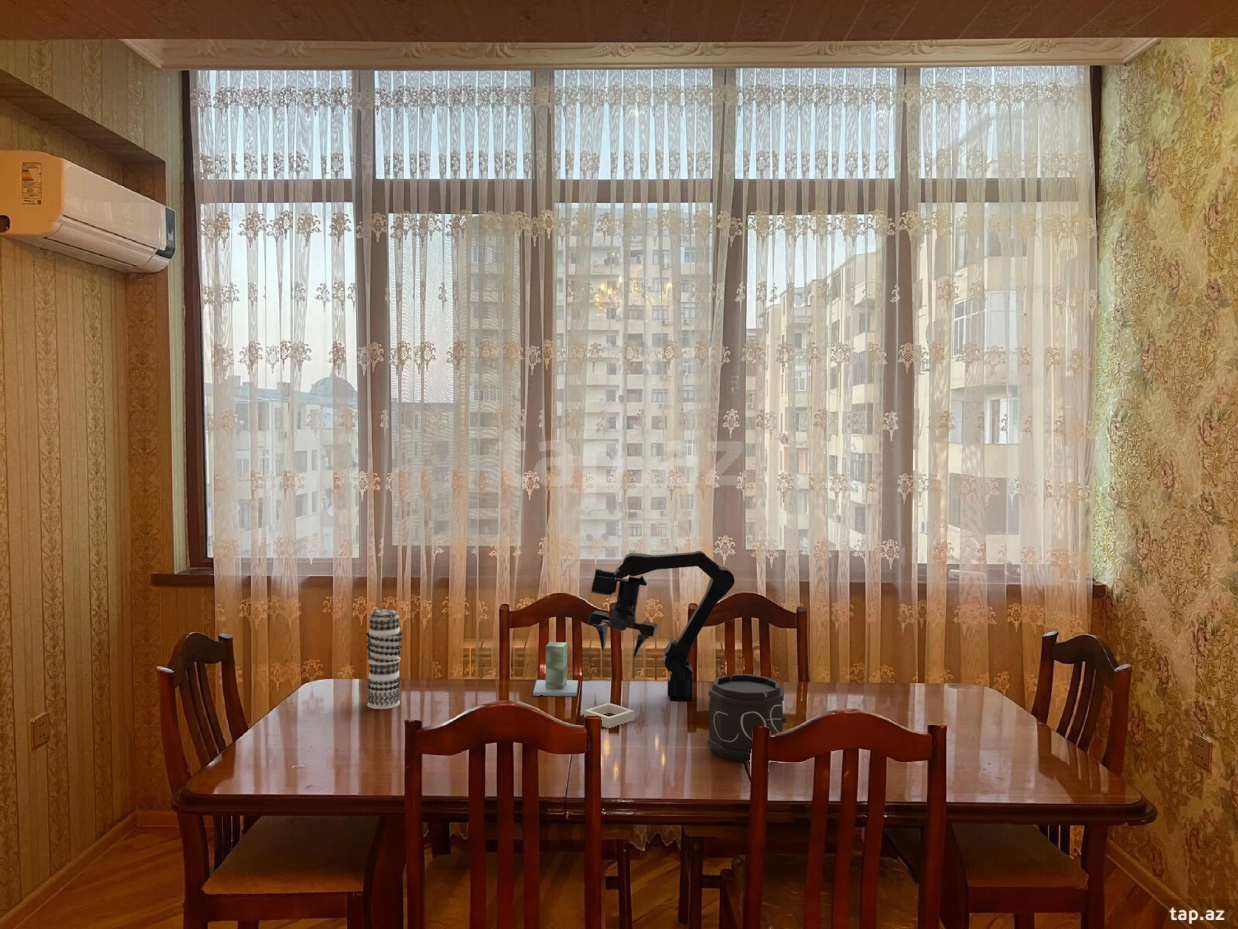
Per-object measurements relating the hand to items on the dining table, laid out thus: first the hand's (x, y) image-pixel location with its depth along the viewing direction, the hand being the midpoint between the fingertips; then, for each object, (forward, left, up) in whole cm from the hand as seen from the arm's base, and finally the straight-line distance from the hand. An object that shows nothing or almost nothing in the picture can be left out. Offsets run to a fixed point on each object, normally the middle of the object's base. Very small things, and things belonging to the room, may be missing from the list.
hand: (618, 653), depth 241 cm
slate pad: (+18, -5, -12) cm, 22 cm away
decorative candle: (+63, +10, -12) cm, 64 cm away
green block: (+18, -5, -11) cm, 21 cm away
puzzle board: (+3, +21, -12) cm, 24 cm away
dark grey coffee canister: (-29, +41, -12) cm, 52 cm away
